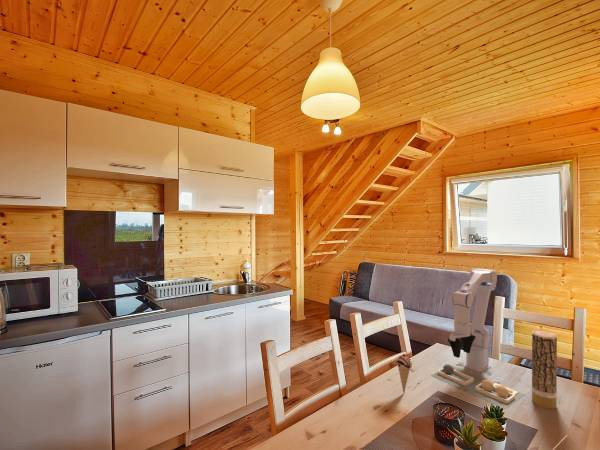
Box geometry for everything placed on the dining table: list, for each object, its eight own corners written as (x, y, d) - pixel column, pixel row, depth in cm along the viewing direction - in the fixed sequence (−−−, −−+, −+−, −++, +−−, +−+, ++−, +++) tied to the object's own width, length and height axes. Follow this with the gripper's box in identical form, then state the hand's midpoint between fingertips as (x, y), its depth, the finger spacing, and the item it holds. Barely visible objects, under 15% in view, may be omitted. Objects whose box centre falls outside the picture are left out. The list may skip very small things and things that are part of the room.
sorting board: (452, 366, 138) (452, 362, 138) (525, 395, 115) (525, 391, 115) (430, 376, 129) (430, 372, 129) (505, 410, 106) (505, 405, 106)
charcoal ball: (446, 371, 133) (446, 361, 133) (455, 375, 130) (455, 365, 130) (441, 373, 131) (441, 364, 131) (450, 377, 128) (450, 367, 128)
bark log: (561, 411, 106) (561, 337, 105) (538, 409, 107) (538, 336, 107) (549, 400, 112) (549, 331, 112) (528, 398, 114) (528, 329, 113)
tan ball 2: (498, 392, 116) (498, 382, 116) (510, 397, 113) (510, 386, 113) (493, 396, 114) (493, 385, 114) (505, 401, 111) (505, 390, 111)
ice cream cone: (394, 395, 115) (394, 355, 115) (397, 388, 120) (397, 349, 120) (410, 399, 113) (410, 358, 113) (412, 391, 118) (413, 352, 118)
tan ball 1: (483, 387, 120) (483, 376, 120) (495, 391, 117) (495, 380, 117) (479, 390, 118) (480, 379, 118) (491, 394, 115) (491, 384, 115)
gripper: (461, 316, 135) (461, 347, 135) (442, 322, 127) (442, 355, 127) (478, 320, 129) (478, 353, 129) (459, 326, 121) (459, 361, 121)
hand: (461, 354), depth 128 cm, fingers open, 7 cm apart
